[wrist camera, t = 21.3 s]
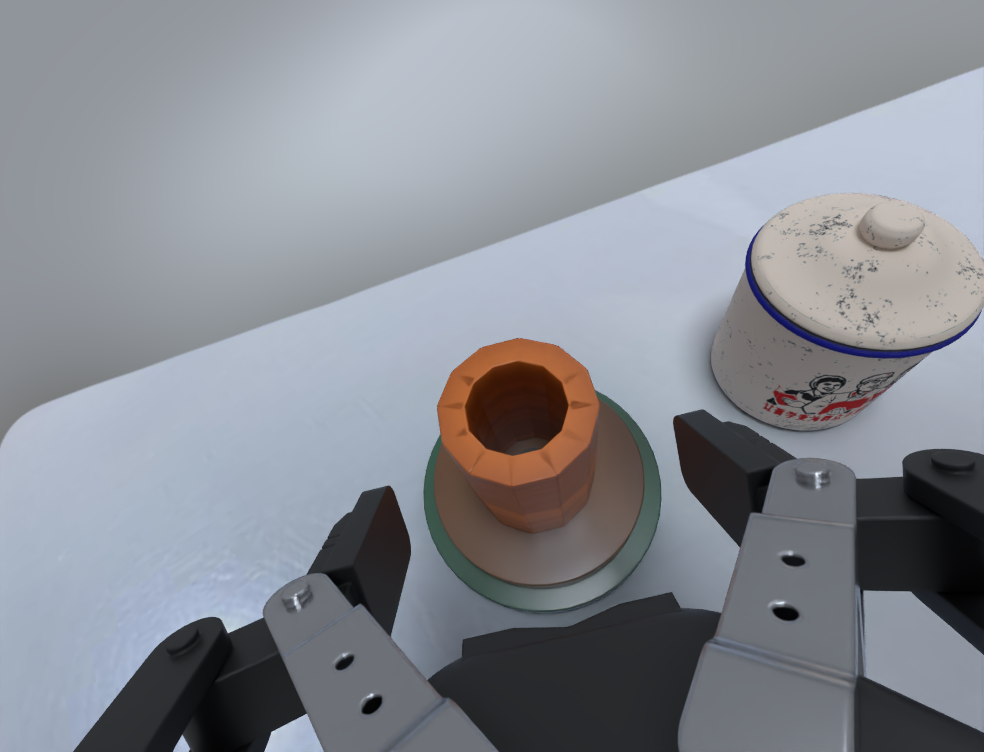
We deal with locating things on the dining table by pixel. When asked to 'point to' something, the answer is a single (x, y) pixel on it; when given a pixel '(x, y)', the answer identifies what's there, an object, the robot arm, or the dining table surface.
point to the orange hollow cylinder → (523, 431)
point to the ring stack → (557, 552)
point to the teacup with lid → (842, 307)
